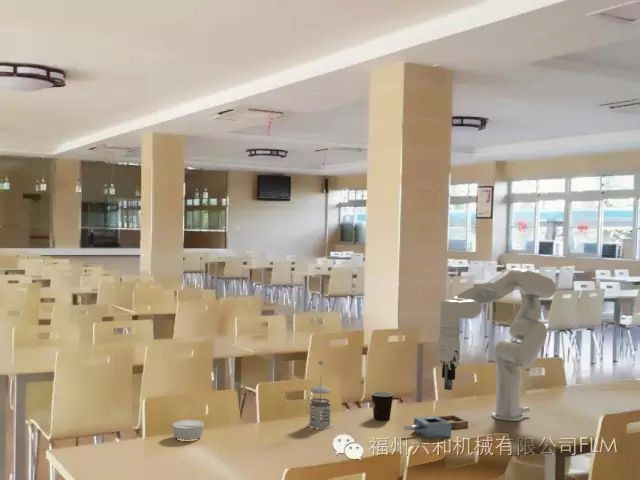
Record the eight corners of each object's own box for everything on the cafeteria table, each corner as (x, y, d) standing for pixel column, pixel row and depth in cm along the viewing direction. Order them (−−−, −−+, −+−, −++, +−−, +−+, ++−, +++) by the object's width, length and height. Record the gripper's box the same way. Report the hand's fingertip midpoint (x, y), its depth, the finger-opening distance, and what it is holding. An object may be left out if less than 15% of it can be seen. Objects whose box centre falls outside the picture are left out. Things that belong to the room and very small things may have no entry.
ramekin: (177, 444, 245) (177, 429, 245) (168, 436, 255) (168, 421, 255) (208, 440, 250) (208, 425, 250) (198, 432, 260) (198, 418, 260)
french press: (338, 426, 272) (339, 361, 272) (317, 431, 264) (318, 364, 263) (319, 420, 279) (320, 357, 279) (298, 426, 271) (299, 361, 270)
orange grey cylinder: (442, 388, 277) (443, 357, 277) (449, 387, 279) (450, 357, 279) (446, 390, 274) (447, 359, 274) (454, 389, 276) (454, 358, 276)
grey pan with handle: (437, 429, 271) (437, 416, 270) (450, 436, 261) (451, 423, 261) (398, 432, 265) (398, 419, 265) (411, 440, 255) (411, 426, 255)
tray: (454, 420, 284) (454, 414, 284) (467, 427, 274) (467, 421, 274) (427, 422, 279) (427, 417, 279) (440, 429, 270) (440, 423, 270)
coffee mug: (391, 422, 279) (391, 397, 279) (369, 420, 281) (370, 395, 281) (394, 415, 290) (394, 390, 290) (373, 413, 292) (373, 389, 292)
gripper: (430, 329, 283) (429, 375, 283) (452, 334, 267) (451, 383, 268) (446, 328, 285) (445, 374, 286) (469, 334, 270) (468, 382, 270)
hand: (448, 378), depth 277 cm, fingers closed on orange grey cylinder, 3 cm apart
